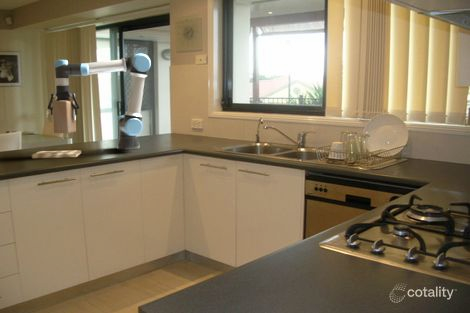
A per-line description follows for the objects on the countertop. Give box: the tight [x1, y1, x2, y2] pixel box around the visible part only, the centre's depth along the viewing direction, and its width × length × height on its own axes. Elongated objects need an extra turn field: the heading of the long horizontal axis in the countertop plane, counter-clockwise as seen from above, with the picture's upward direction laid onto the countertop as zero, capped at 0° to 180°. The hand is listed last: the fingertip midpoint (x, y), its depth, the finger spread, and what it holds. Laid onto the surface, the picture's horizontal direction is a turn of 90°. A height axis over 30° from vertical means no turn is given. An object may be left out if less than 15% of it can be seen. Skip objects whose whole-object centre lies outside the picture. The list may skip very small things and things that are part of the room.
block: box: [51, 100, 77, 135], centre depth 284 cm, size 10×10×20 cm
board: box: [31, 149, 82, 159], centre depth 287 cm, size 26×16×2 cm, turn 99°
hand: (64, 120), depth 284 cm, fingers closed on block, 12 cm apart
